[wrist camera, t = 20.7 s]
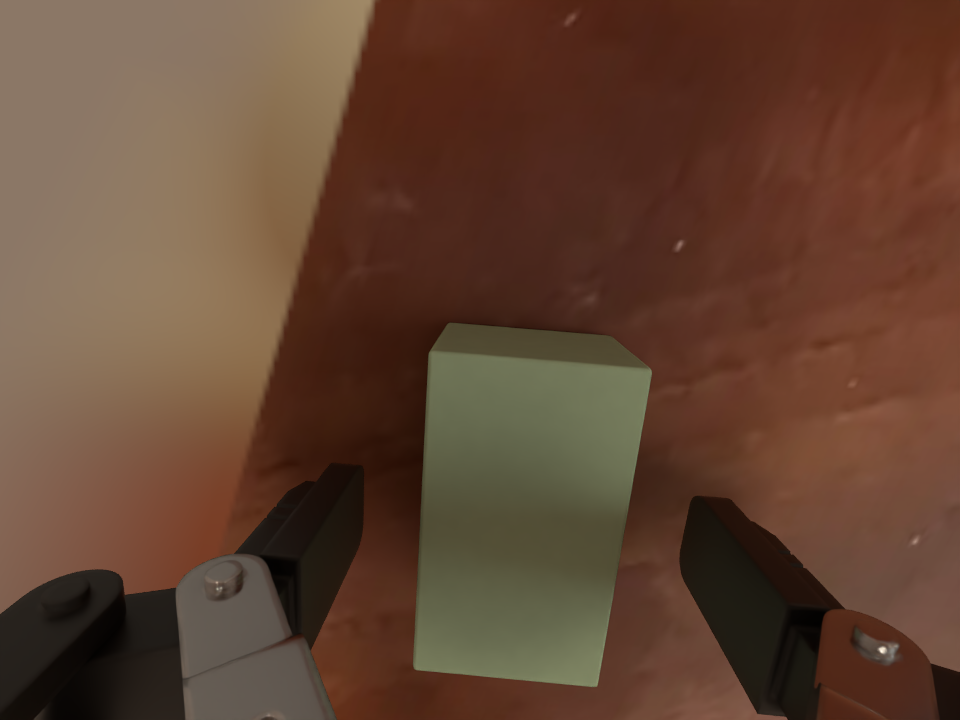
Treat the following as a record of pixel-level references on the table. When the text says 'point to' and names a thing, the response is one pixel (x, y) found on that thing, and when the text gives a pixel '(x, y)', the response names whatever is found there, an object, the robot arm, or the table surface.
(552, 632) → the pad
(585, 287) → the table surface
